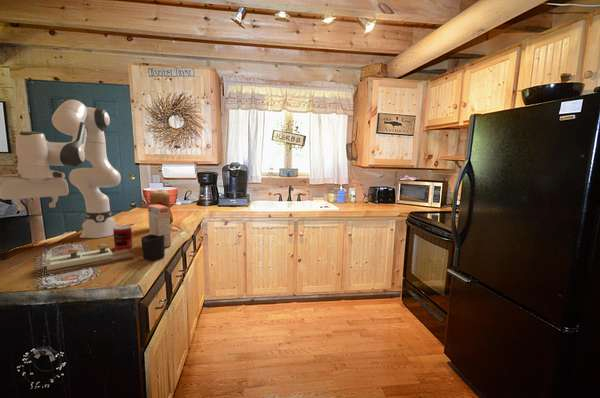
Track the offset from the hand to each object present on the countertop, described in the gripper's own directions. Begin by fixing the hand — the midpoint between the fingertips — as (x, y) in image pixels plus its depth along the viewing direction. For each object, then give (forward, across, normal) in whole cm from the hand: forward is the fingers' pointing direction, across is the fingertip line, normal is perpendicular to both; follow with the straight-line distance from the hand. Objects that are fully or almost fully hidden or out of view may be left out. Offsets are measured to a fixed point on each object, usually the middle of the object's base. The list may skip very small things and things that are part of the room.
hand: (37, 209), depth 108 cm
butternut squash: (+23, +68, +17) cm, 73 cm away
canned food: (+24, +32, -1) cm, 40 cm away
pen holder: (+25, +30, -26) cm, 47 cm away
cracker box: (+24, +45, -12) cm, 52 cm away
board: (+25, +14, -7) cm, 29 cm away
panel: (+23, +11, -6) cm, 26 cm away
